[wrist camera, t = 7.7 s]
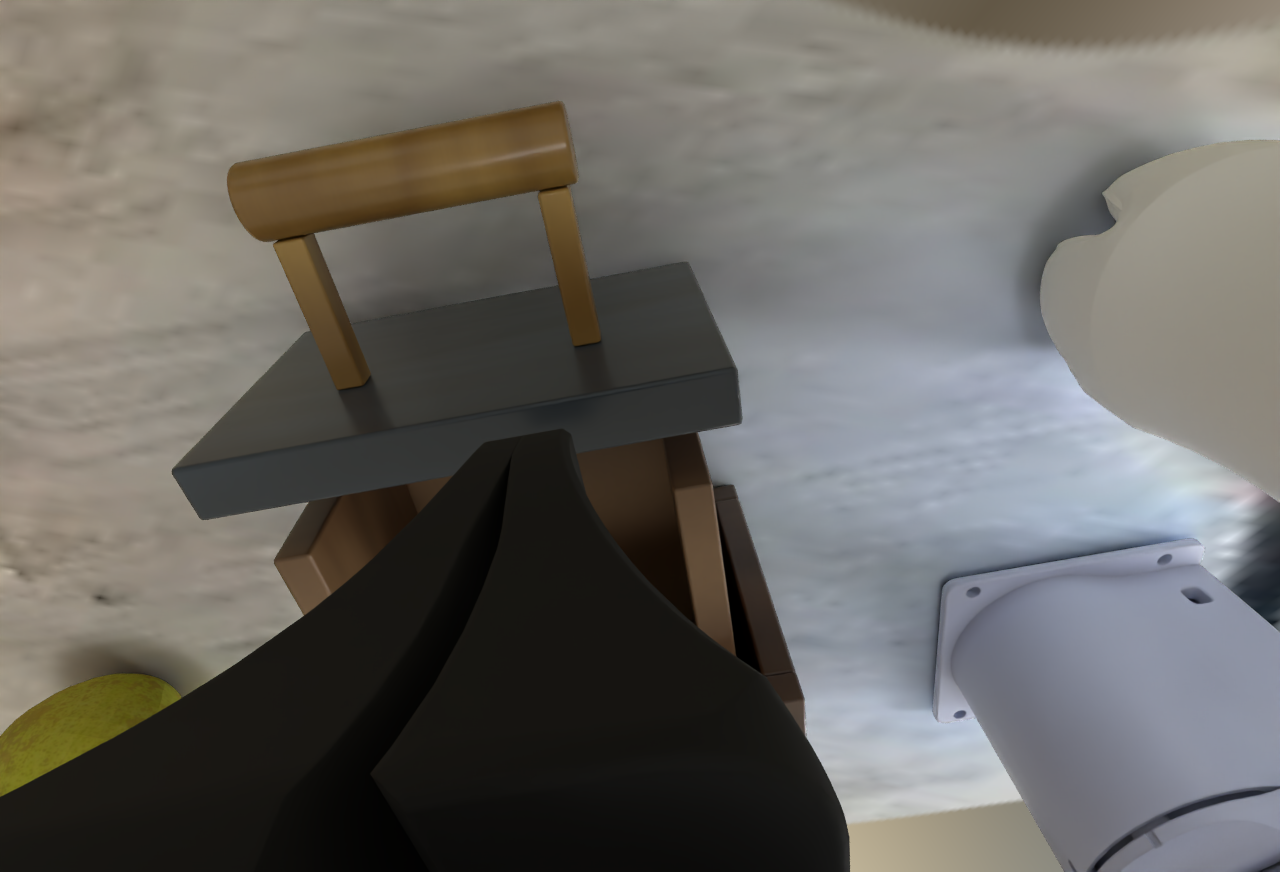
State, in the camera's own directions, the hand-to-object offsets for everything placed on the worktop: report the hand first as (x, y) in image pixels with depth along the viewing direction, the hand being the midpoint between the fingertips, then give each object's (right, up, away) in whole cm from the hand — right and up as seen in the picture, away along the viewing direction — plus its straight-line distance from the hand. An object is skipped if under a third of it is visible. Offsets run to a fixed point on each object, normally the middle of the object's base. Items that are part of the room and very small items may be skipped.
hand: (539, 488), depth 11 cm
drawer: (-2, +1, +9) cm, 10 cm away
